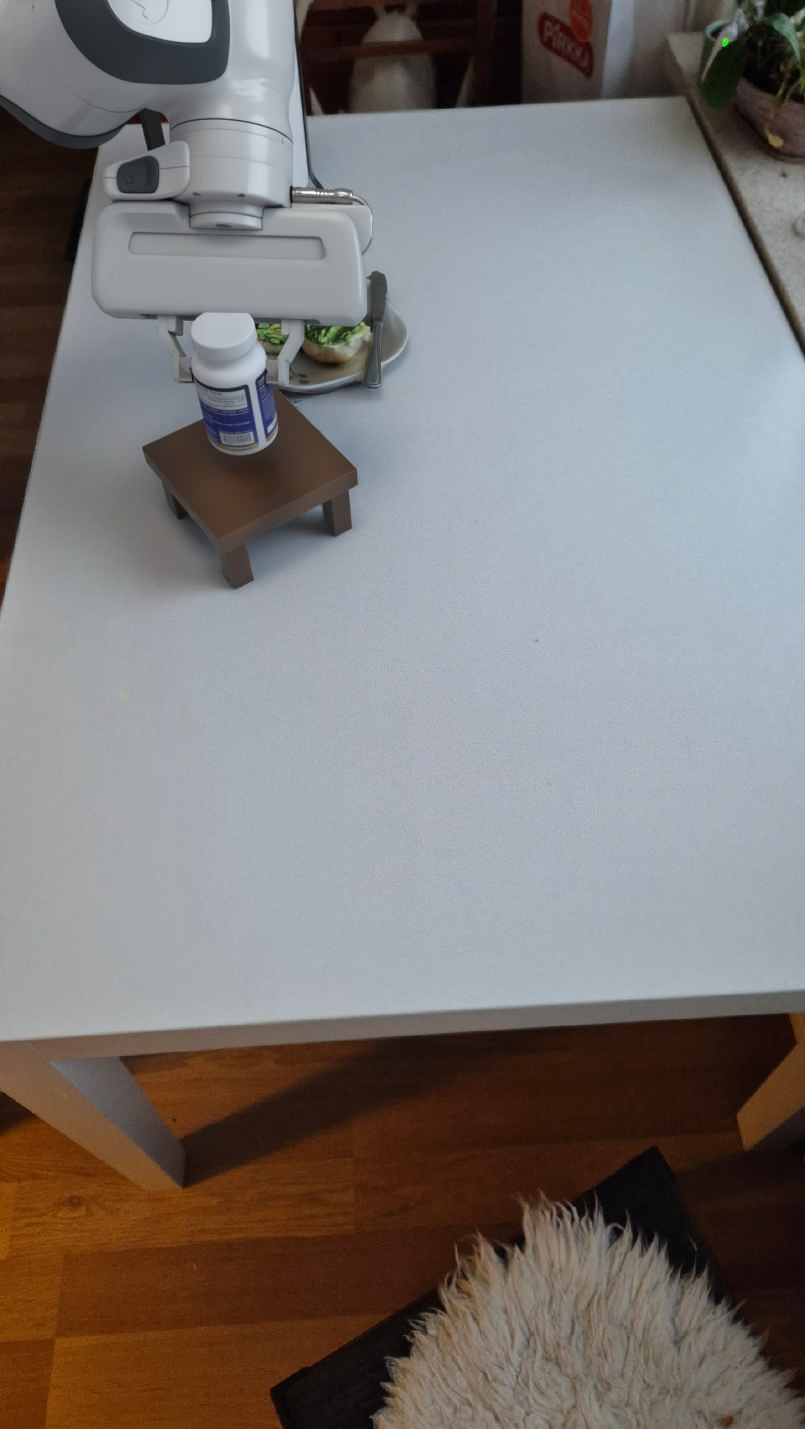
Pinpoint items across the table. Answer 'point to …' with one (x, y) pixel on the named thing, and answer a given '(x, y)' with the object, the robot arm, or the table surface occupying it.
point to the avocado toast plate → (343, 347)
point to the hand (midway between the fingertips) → (230, 384)
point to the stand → (253, 484)
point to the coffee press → (296, 119)
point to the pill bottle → (232, 383)
